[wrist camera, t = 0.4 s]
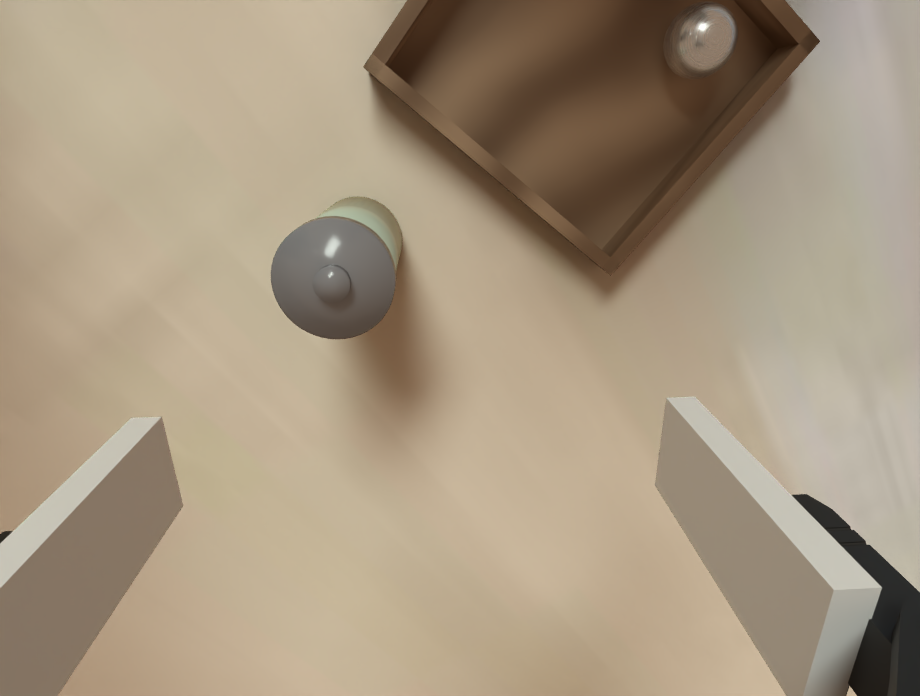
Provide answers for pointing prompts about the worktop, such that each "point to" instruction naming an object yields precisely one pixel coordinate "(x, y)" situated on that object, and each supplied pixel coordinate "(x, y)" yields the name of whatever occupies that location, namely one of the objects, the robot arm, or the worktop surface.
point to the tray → (584, 101)
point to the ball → (700, 40)
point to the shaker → (339, 269)
